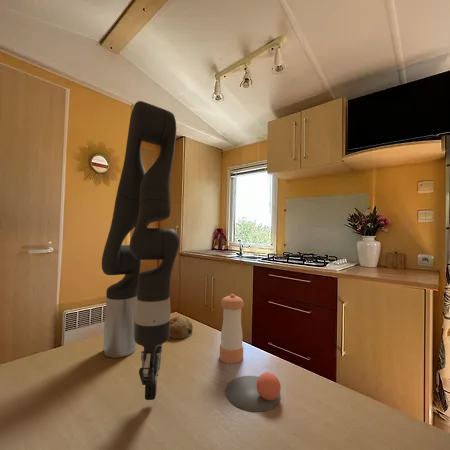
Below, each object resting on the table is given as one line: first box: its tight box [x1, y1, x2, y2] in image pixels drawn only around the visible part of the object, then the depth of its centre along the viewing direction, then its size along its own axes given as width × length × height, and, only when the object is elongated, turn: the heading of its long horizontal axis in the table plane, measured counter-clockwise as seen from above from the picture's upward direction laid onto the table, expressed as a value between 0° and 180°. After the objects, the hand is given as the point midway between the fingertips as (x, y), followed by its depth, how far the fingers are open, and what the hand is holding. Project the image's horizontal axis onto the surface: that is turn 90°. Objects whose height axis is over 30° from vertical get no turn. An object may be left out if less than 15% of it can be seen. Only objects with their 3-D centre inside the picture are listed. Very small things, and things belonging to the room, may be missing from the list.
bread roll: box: [169, 315, 194, 339], centre depth 93 cm, size 10×10×8 cm
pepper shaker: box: [219, 293, 245, 364], centre depth 77 cm, size 7×7×19 cm
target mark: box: [225, 375, 281, 413], centre depth 60 cm, size 13×13×1 cm
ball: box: [257, 371, 281, 401], centre depth 58 cm, size 6×6×6 cm
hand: (150, 397), depth 55 cm, fingers closed
